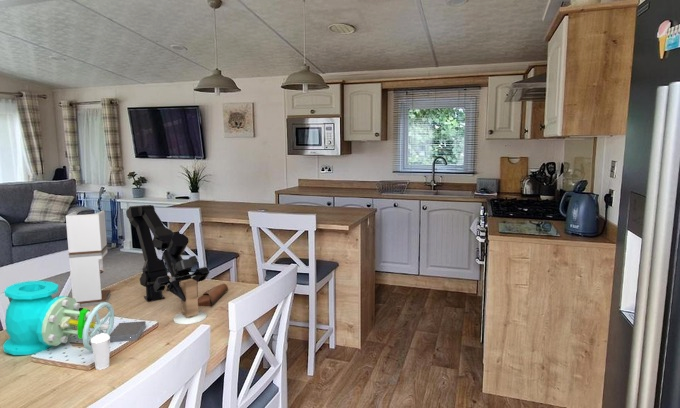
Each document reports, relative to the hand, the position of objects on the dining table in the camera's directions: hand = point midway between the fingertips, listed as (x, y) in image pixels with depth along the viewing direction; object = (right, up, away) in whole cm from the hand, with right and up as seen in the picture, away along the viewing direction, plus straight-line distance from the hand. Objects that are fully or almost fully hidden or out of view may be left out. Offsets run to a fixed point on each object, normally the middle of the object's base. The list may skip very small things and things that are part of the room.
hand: (191, 299), depth 143 cm
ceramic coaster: (-1, -7, +2) cm, 7 cm away
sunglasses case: (0, -5, +22) cm, 22 cm away
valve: (-32, -10, -20) cm, 39 cm away
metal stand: (-16, -9, -11) cm, 22 cm away
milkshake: (-13, -11, -31) cm, 36 cm away
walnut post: (-1, -6, +2) cm, 6 cm away
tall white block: (-46, -5, +19) cm, 50 cm away
